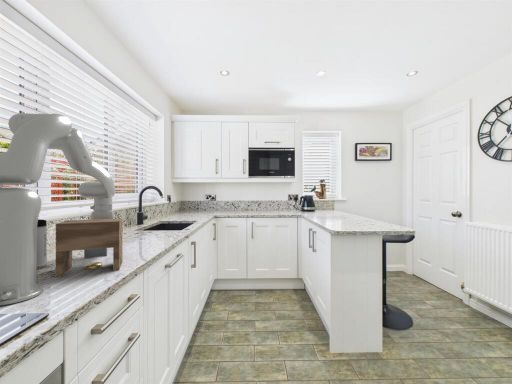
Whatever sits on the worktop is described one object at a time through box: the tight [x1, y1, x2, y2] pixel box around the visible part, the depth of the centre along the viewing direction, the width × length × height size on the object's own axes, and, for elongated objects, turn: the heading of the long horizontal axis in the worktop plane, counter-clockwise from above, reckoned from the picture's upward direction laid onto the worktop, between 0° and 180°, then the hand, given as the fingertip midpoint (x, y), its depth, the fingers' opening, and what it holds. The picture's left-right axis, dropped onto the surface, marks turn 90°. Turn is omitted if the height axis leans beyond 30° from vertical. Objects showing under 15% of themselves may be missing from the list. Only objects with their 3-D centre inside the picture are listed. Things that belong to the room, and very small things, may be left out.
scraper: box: [83, 248, 108, 259], centre depth 112 cm, size 19×8×7 cm, turn 23°
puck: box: [84, 261, 103, 270], centre depth 99 cm, size 6×6×2 cm
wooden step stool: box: [55, 218, 124, 278], centre depth 97 cm, size 13×20×19 cm, turn 113°
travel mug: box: [36, 218, 48, 271], centre depth 98 cm, size 6×7×20 cm
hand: (103, 245), depth 119 cm, fingers closed on scraper, 3 cm apart
